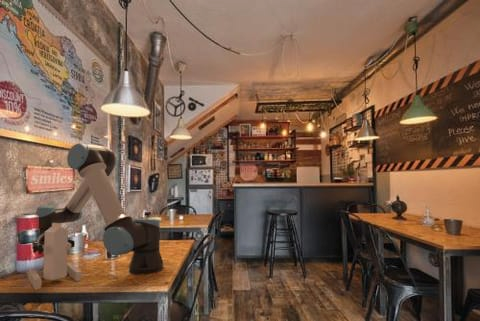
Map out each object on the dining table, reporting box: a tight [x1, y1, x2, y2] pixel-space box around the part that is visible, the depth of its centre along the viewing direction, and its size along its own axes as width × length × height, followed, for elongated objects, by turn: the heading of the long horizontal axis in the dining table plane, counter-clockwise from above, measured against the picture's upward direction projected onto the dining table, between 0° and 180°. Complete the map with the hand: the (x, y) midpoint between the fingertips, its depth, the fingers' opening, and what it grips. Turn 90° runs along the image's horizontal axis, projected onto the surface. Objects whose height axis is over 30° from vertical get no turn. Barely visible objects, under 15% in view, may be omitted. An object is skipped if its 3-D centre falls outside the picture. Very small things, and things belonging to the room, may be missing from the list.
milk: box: [43, 223, 69, 281], centre depth 122 cm, size 6×6×22 cm
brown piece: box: [27, 261, 82, 291], centre depth 125 cm, size 20×16×4 cm
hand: (58, 249), depth 118 cm, fingers closed on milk, 8 cm apart
